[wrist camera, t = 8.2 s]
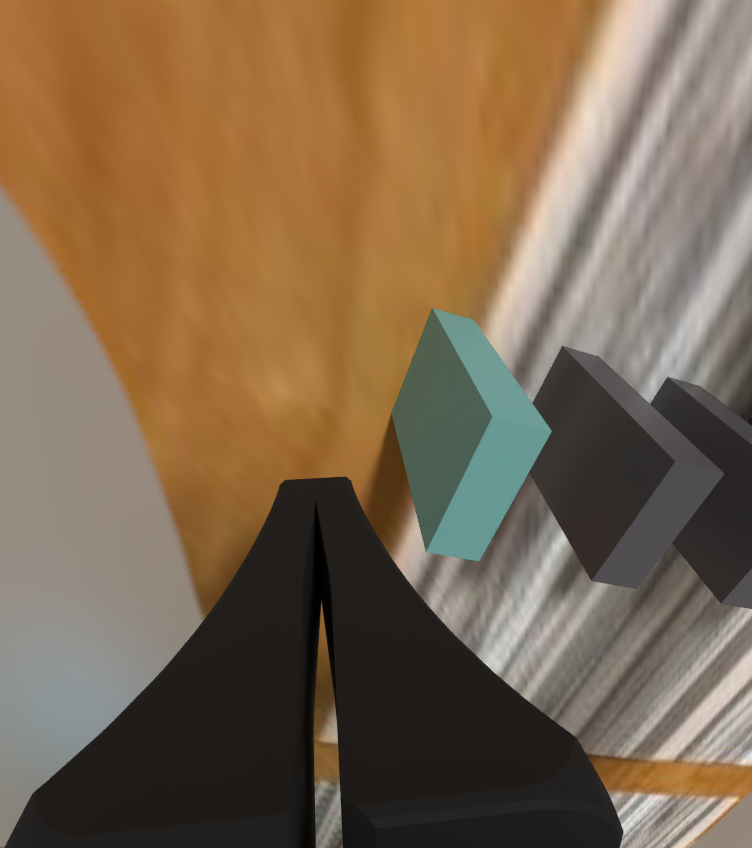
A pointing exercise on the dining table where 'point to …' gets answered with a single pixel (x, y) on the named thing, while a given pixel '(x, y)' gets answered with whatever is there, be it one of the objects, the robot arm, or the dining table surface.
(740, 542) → the tile
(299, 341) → the dining table surface
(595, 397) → the tile
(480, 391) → the tile
